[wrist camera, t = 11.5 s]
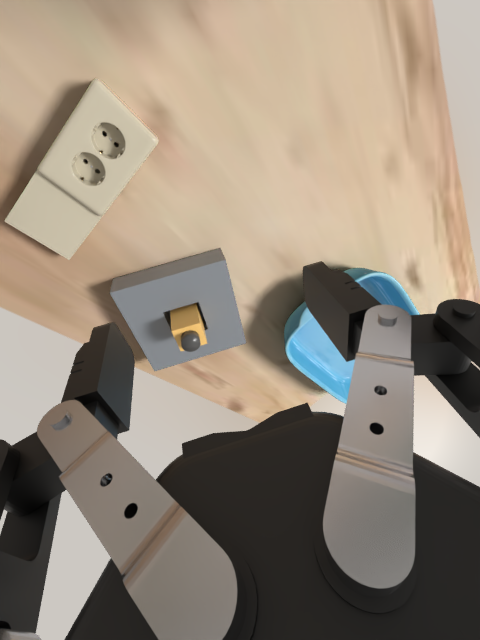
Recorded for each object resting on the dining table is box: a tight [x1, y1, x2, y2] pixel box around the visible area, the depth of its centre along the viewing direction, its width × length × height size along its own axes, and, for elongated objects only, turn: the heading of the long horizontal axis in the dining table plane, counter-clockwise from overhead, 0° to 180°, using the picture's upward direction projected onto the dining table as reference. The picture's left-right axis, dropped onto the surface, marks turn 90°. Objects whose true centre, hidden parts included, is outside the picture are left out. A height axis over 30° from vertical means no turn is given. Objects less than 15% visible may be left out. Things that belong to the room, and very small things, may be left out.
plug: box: [170, 303, 207, 352], centre depth 43 cm, size 4×4×8 cm
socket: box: [110, 248, 246, 371], centre depth 46 cm, size 16×16×4 cm
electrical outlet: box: [4, 78, 159, 260], centre depth 33 cm, size 7×4×18 cm
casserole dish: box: [284, 268, 420, 404], centre depth 57 cm, size 37×22×7 cm, turn 42°
